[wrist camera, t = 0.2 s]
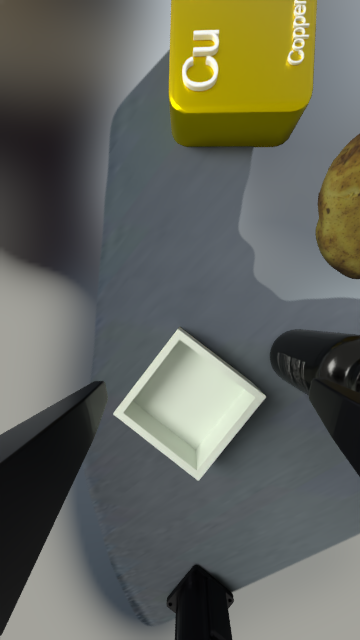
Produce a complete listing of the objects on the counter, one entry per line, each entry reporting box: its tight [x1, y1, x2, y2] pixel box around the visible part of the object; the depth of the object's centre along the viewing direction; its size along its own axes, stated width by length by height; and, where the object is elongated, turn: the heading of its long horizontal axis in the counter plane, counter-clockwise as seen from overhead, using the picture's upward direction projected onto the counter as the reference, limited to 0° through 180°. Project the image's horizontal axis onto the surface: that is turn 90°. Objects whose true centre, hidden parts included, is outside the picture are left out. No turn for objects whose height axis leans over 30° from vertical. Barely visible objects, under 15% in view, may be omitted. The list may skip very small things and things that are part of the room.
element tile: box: [169, 0, 317, 147], centre depth 20 cm, size 15×15×5 cm
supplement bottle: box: [270, 329, 360, 395], centre depth 16 cm, size 7×7×12 cm
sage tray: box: [113, 327, 266, 481], centre depth 21 cm, size 12×12×4 cm
